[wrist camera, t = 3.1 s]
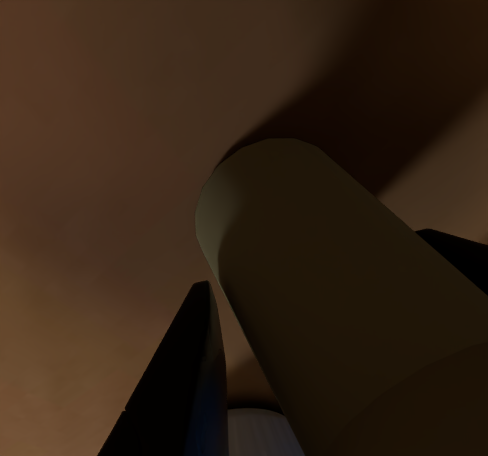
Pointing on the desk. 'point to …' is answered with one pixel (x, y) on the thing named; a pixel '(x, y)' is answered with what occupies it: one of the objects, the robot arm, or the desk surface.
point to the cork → (346, 308)
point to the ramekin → (260, 434)
